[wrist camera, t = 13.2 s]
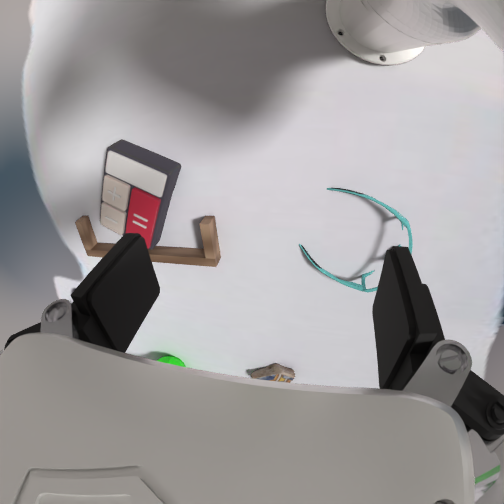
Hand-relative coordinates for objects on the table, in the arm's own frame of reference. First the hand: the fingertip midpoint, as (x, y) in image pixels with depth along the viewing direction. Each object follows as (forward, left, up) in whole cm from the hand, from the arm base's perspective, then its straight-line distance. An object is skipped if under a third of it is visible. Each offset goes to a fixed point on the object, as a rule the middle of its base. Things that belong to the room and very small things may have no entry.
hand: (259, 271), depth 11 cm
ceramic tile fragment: (+54, -5, -29) cm, 61 cm away
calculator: (+9, -25, -29) cm, 39 cm away
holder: (+16, -26, -28) cm, 42 cm away
